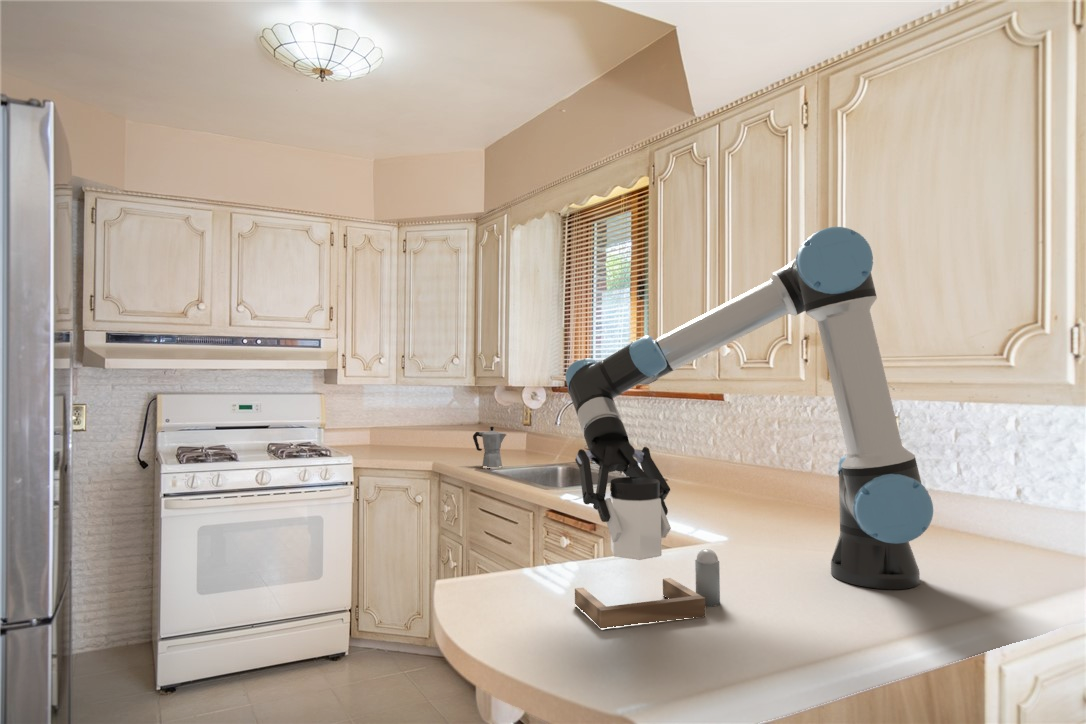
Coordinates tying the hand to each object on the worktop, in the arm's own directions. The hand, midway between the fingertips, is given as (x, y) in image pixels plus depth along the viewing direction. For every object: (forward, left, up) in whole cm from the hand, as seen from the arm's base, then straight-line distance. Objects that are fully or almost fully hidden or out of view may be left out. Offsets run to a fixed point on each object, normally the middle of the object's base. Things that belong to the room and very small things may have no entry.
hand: (642, 535), depth 108 cm
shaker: (-3, -13, -13) cm, 19 cm away
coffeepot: (+162, -96, -13) cm, 188 cm away
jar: (+3, -2, -4) cm, 5 cm away
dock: (+3, -2, -13) cm, 13 cm away
